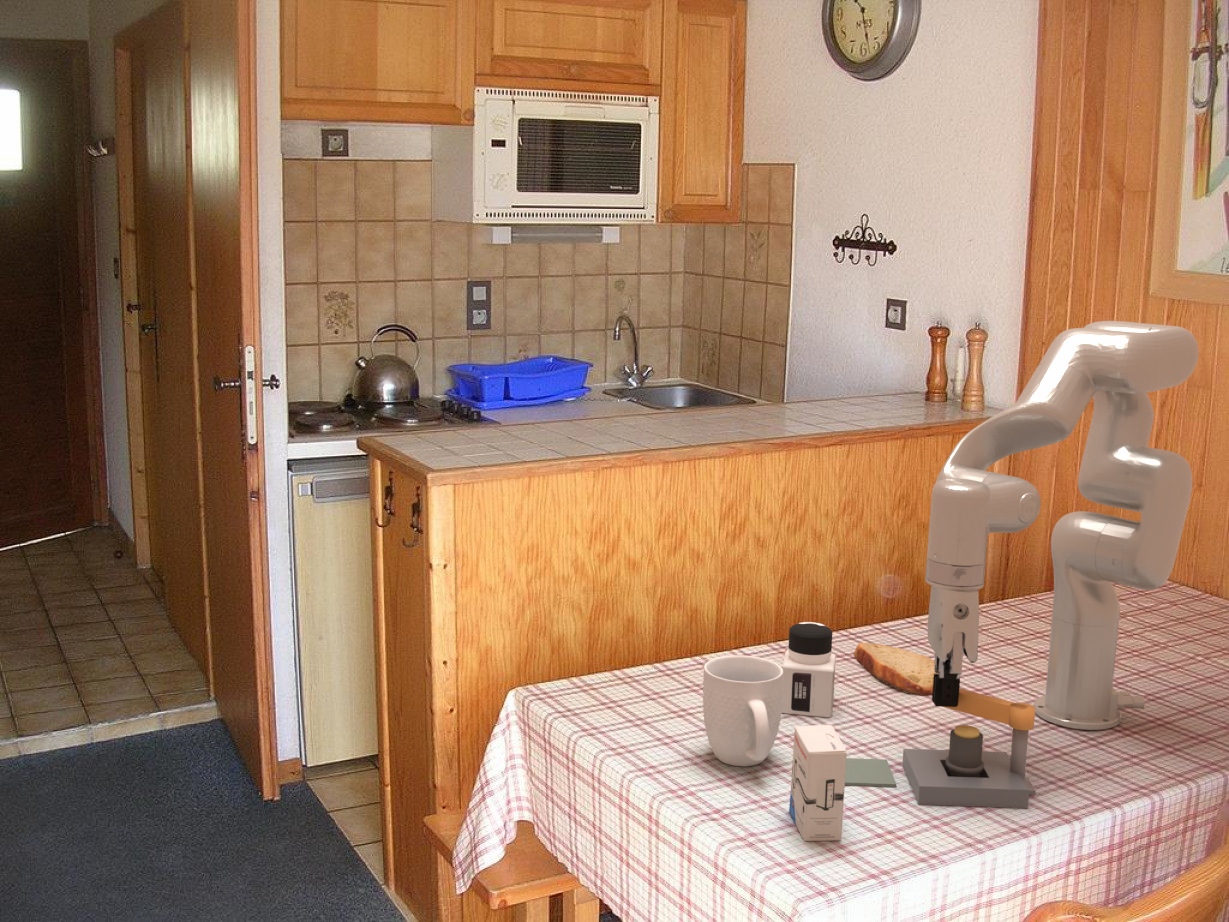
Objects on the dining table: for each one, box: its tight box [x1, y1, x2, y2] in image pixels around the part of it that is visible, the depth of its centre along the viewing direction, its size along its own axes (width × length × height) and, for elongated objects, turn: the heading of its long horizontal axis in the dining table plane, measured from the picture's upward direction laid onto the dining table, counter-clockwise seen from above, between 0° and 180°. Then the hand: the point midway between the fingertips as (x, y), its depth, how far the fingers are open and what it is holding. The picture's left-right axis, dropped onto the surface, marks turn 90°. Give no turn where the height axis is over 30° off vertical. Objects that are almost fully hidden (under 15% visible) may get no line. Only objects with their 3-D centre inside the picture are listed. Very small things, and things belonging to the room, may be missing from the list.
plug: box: [946, 724, 984, 778], centre depth 175 cm, size 5×5×8 cm
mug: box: [702, 654, 783, 767], centre depth 180 cm, size 15×11×13 cm
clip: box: [940, 687, 1036, 731], centre depth 176 cm, size 13×3×3 cm, turn 50°
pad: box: [845, 757, 897, 788], centre depth 179 cm, size 8×8×1 cm
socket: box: [902, 728, 1037, 809], centre depth 174 cm, size 16×12×8 cm
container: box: [781, 621, 837, 718], centre depth 201 cm, size 8×8×13 cm
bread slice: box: [853, 642, 938, 697], centre depth 218 cm, size 18×18×4 cm
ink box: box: [788, 724, 848, 842], centre depth 162 cm, size 9×5×12 cm, turn 5°
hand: (944, 704), depth 177 cm, fingers closed
